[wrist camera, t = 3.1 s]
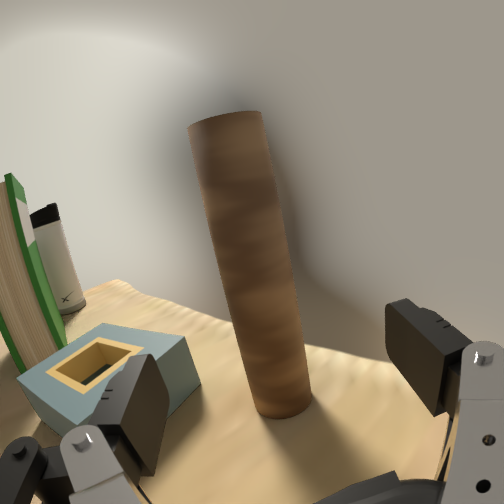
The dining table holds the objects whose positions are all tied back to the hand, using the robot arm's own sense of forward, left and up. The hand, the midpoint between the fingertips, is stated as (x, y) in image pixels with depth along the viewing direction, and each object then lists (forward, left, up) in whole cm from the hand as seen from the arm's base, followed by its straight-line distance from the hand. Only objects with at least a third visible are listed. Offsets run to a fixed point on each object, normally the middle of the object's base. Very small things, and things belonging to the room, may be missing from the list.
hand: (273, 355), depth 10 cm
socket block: (-19, +3, -11) cm, 22 cm away
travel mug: (-52, +19, -11) cm, 57 cm away
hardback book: (-42, +7, -11) cm, 44 cm away
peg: (-5, +9, -11) cm, 15 cm away
